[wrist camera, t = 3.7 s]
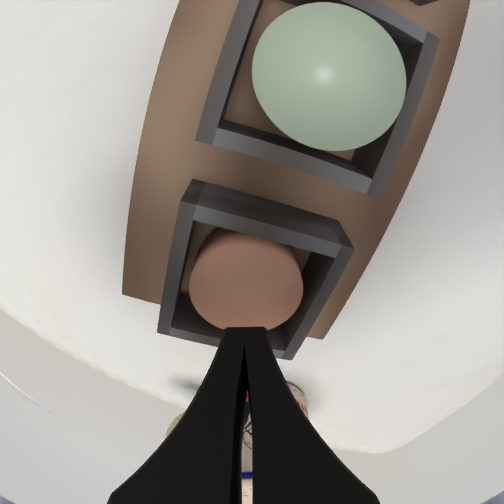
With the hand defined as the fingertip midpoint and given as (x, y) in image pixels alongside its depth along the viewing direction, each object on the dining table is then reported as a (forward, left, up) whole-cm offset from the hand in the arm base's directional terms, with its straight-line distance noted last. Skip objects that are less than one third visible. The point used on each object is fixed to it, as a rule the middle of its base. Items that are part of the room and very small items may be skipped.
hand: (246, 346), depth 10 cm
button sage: (0, -9, -4) cm, 10 cm away
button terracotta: (0, 0, -5) cm, 5 cm away
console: (0, -9, -7) cm, 12 cm away
